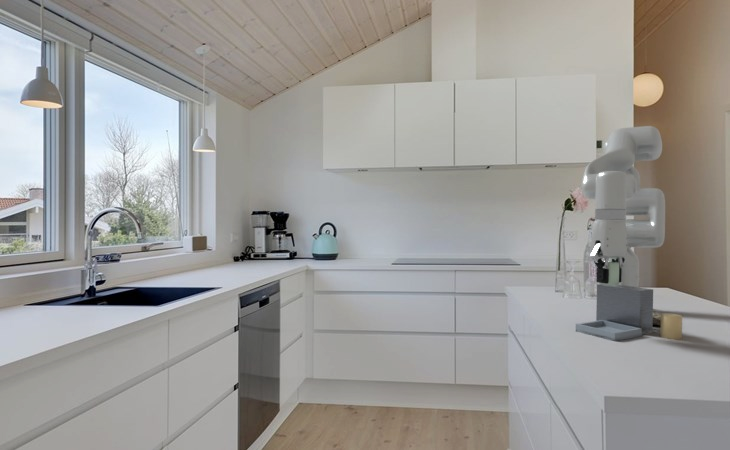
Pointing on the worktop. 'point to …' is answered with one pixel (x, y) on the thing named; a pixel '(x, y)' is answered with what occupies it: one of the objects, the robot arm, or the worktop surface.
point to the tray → (608, 330)
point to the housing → (626, 306)
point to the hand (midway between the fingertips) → (608, 281)
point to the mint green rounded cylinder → (613, 273)
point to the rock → (656, 318)
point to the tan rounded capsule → (671, 326)
